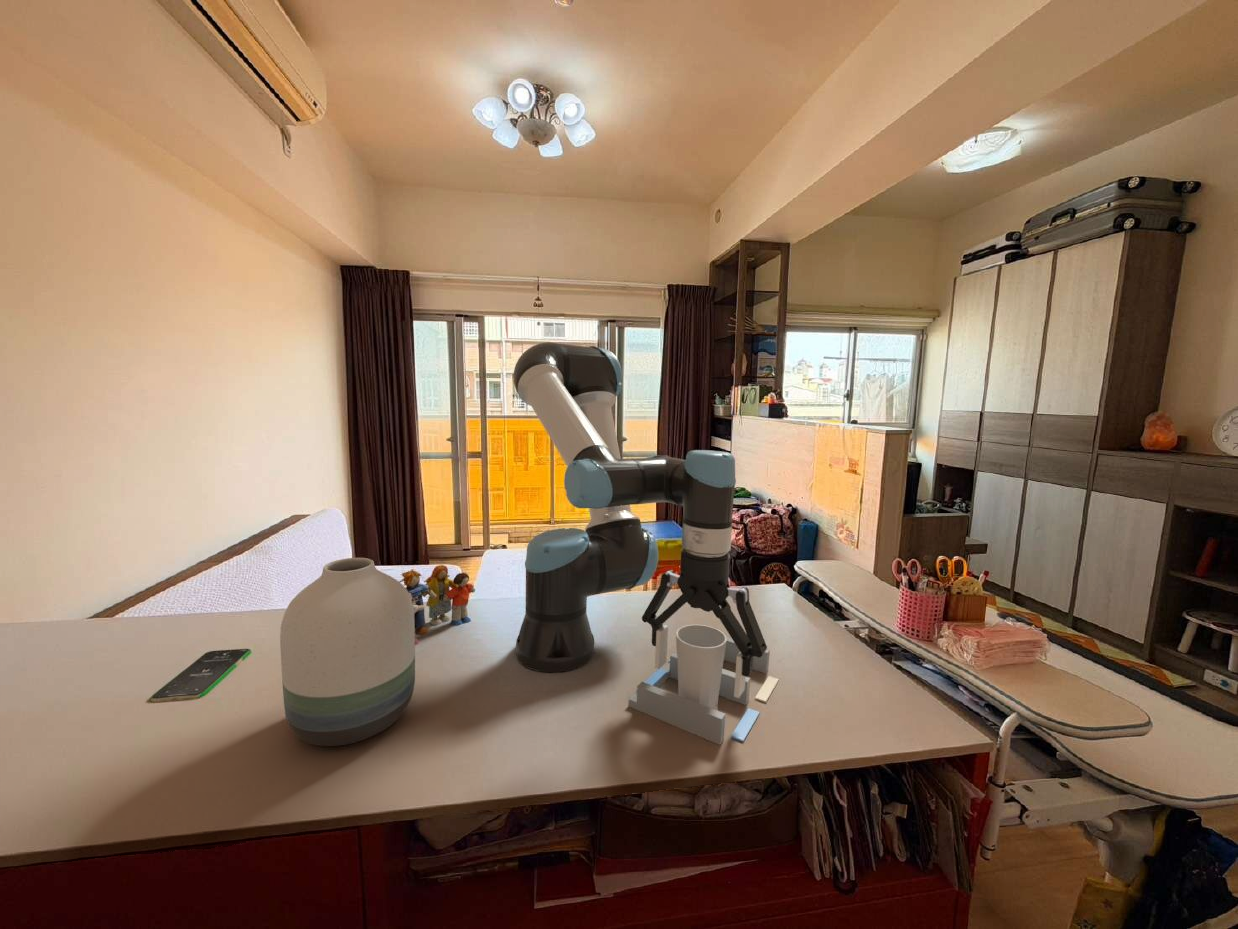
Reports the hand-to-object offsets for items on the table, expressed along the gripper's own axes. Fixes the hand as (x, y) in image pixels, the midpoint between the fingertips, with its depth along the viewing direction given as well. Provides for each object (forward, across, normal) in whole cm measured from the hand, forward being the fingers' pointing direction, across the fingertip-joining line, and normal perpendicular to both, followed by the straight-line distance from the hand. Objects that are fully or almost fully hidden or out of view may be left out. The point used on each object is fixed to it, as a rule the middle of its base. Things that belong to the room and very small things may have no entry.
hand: (698, 678), depth 77 cm
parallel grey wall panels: (+5, 0, +6) cm, 7 cm away
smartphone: (+5, -72, -41) cm, 84 cm away
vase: (+5, -40, -33) cm, 53 cm away
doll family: (+5, -58, -9) cm, 58 cm away
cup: (+5, 0, 0) cm, 5 cm away
